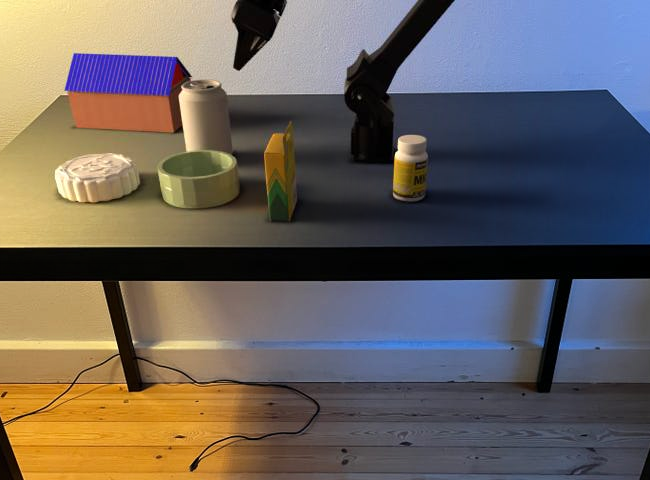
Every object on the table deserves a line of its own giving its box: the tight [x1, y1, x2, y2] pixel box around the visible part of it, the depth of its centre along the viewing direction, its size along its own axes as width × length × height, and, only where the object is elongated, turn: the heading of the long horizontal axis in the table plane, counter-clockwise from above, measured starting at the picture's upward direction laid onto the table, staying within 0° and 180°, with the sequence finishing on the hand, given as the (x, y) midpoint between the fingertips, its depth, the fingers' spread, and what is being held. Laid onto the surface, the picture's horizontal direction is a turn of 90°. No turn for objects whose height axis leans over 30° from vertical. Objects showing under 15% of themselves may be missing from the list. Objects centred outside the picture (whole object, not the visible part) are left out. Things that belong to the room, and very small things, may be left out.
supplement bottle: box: [392, 134, 429, 203], centre depth 98 cm, size 5×5×8 cm
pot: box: [157, 150, 241, 210], centre depth 101 cm, size 11×11×4 cm
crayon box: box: [263, 120, 298, 222], centre depth 93 cm, size 7×3×12 cm, turn 174°
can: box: [179, 79, 234, 156], centre depth 110 cm, size 8×8×12 cm
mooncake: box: [54, 152, 141, 203], centre depth 103 cm, size 12×12×4 cm
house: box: [64, 52, 194, 133], centre depth 126 cm, size 12×20×12 cm, turn 79°
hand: (240, 61), depth 105 cm, fingers open, 9 cm apart
